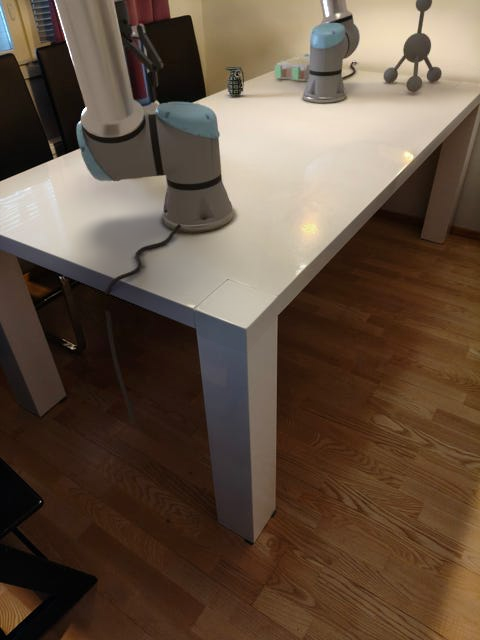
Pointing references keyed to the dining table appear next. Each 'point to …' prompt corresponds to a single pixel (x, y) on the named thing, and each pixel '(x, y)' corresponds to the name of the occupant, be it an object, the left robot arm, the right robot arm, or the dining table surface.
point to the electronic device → (146, 102)
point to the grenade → (235, 81)
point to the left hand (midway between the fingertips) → (127, 102)
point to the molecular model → (416, 54)
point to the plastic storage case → (294, 68)
